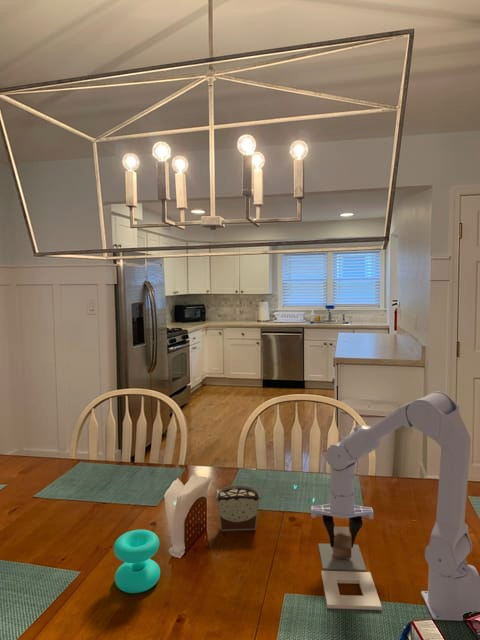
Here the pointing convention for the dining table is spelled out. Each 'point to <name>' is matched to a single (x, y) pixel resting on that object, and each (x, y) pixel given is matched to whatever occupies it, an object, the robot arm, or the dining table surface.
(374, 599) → the pocket plate
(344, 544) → the block
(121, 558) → the turquoise spool
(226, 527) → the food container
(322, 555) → the mat
